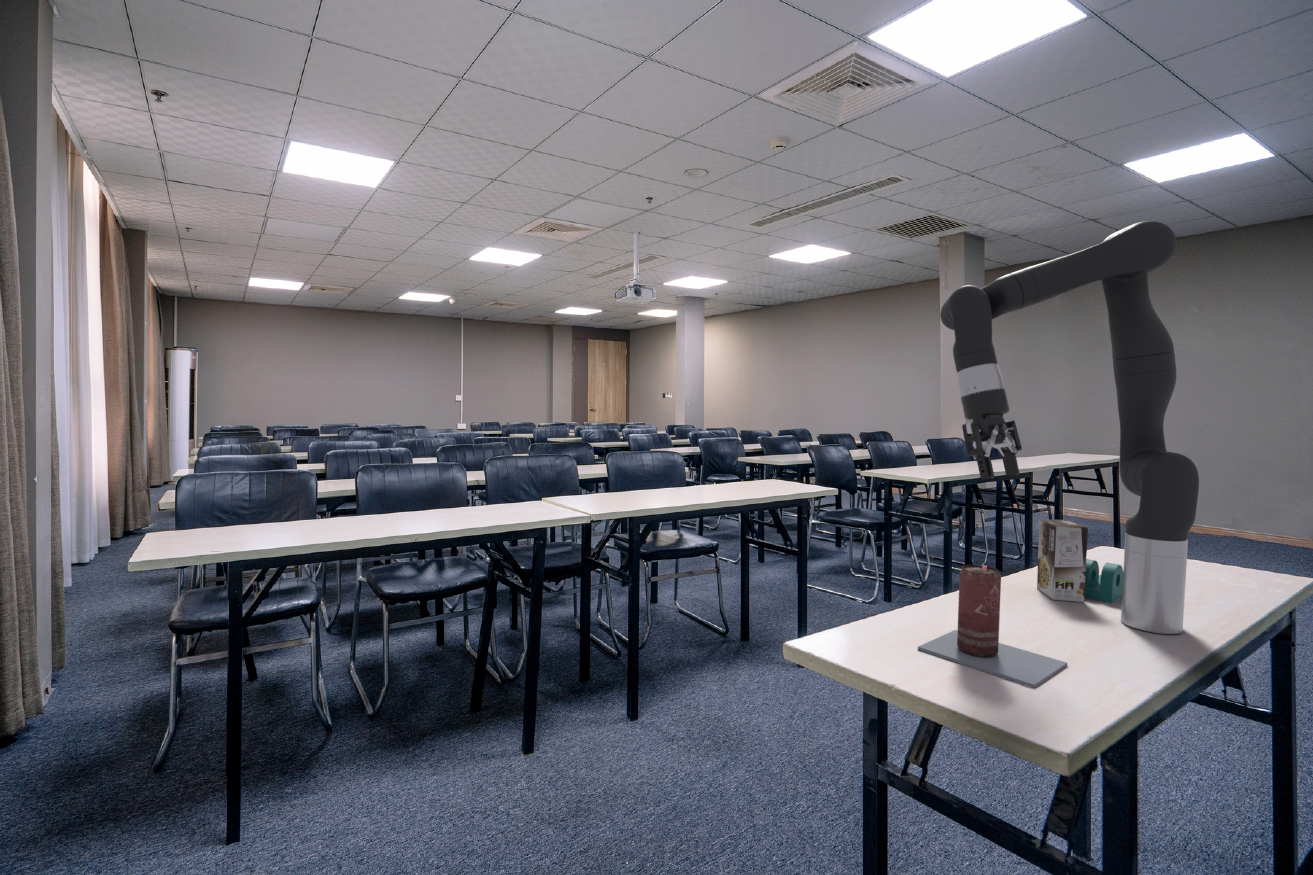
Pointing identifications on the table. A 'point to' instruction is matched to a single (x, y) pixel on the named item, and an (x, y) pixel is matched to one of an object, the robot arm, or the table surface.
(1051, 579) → the coffee box
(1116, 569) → the bracket
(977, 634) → the can
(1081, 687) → the table surface
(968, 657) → the mat
